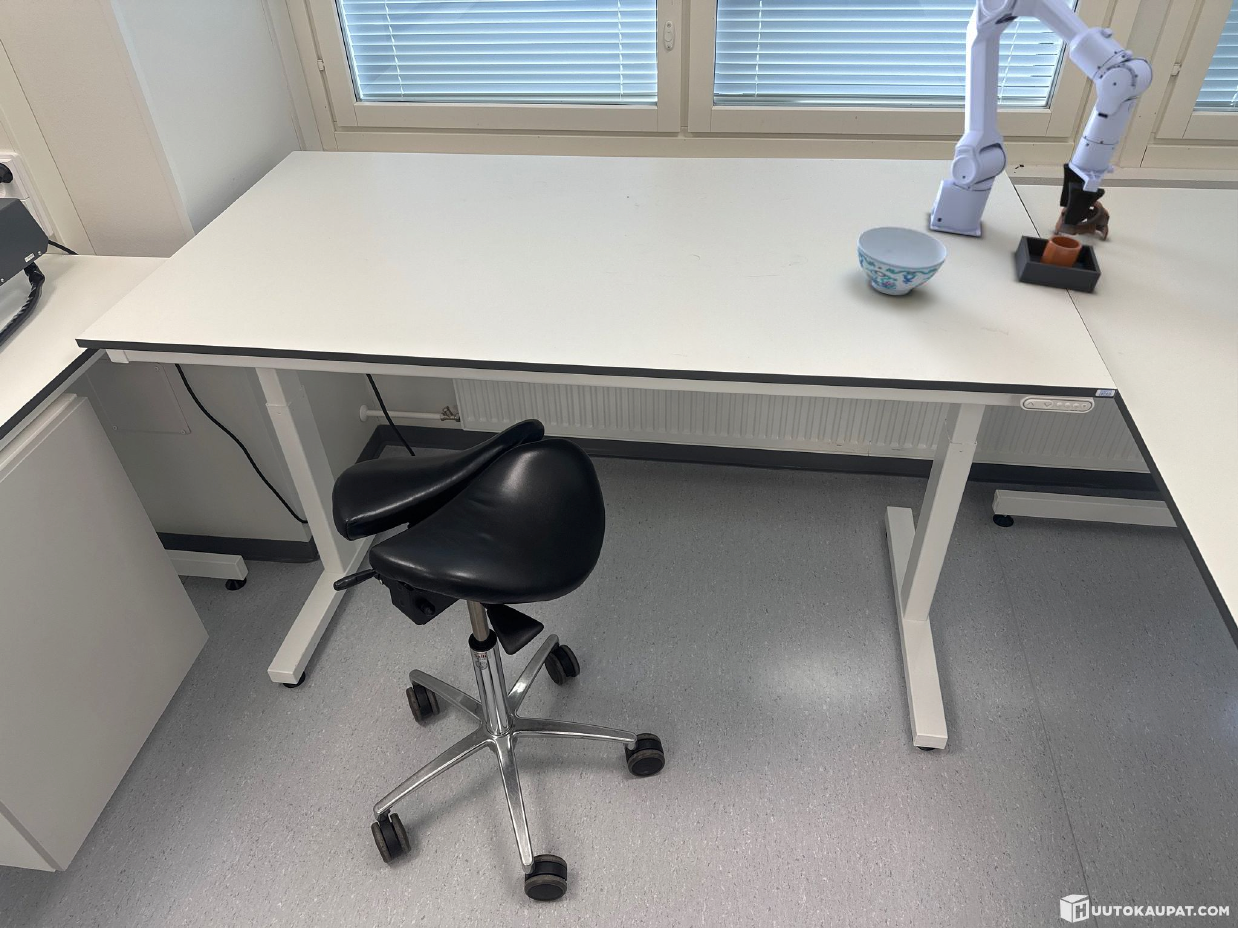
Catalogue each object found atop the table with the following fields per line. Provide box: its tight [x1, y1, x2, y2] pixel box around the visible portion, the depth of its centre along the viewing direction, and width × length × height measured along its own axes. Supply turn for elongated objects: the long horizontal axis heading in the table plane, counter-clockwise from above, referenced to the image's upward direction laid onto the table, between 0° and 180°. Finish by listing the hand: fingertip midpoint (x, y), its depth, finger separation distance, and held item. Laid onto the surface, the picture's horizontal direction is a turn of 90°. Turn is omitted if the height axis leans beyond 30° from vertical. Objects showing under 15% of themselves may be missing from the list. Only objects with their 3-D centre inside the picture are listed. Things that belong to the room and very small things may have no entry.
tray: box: [1014, 235, 1102, 294], centre depth 147 cm, size 12×11×4 cm
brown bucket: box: [1039, 234, 1083, 268], centre depth 146 cm, size 6×6×6 cm
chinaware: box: [856, 226, 948, 296], centre depth 140 cm, size 15×15×8 cm
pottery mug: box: [1054, 200, 1111, 241], centre depth 159 cm, size 12×10×8 cm
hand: (1067, 215), depth 144 cm, fingers open, 7 cm apart
